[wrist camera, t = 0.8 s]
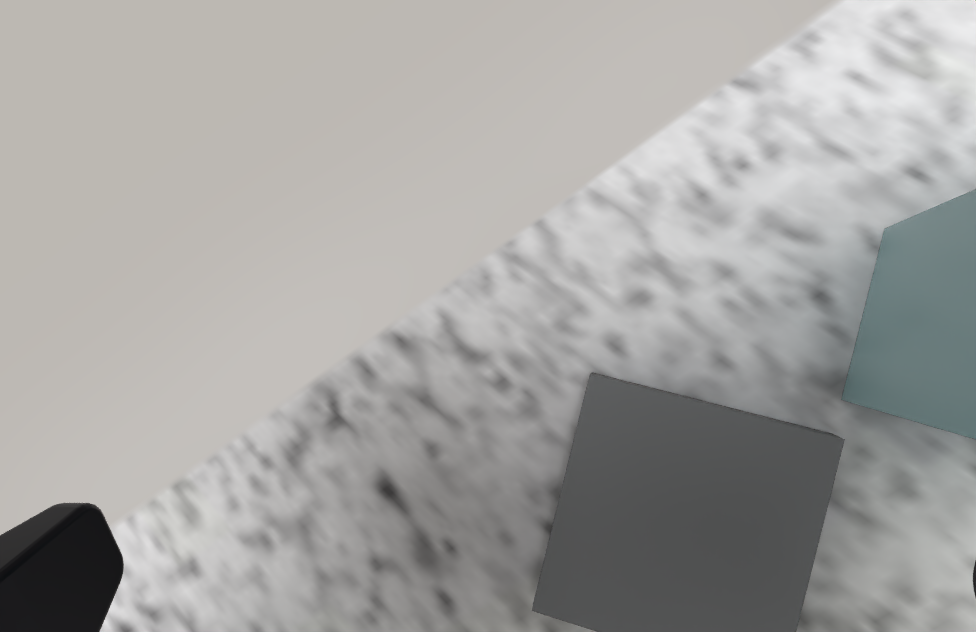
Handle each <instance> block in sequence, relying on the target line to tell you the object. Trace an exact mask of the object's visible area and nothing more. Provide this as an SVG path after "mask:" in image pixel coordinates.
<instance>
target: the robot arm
mask: <svg viewBox="0 0 976 632" xmlns="http://www.w3.org/2000/svg"><path fill="white" fill-rule="evenodd" d="M123 566H124V563H123V557H122V554H121V552H120V549H119V547H118V545H117V543H116V541H115V539H114V537H113V534H112V532H111V530H110V528H109V526H108V524H107V521H106V519H105V517H104V515H103V513H102V512H101V510H100V509H99V508H98V507H97V506H95V505H93V504H90V503H62V504H57V505H54V506H52V507H50V508H48V509H46V510H45V511H43V512H41V513H39V514H38V515H36V516H34V517H32V518H30V519H29V520H27V521H25V522H23V523H22V524H20V525H18V526H16V527H14V528H13V529H11V530H9V531H7V532H5V533H4V534H2V535H0V632H99V631H100V629H101V627H102V624H103V622H104V620H105V617H106V615H107V612H108V610H109V608H110V605H111V603H112V601H113V598H114V596H115V593H116V591H117V589H118V586H119V584H120V581H121V579H122V574H123ZM973 586H974V592H975V597H976V562H975V566H974V571H973Z"/></svg>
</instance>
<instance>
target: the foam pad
mask: <svg viewBox="0 0 976 632" xmlns="http://www.w3.org/2000/svg"><path fill="white" fill-rule="evenodd" d="M844 440H845V439H842V438H840V437H838V436H836V435H834V434H831V433H827V432H823V431H819V430H815V429H811V428H808V427H804V426H800V425H796V424H792V423H788V422H784V421H780V420H776V419H772V418H768V417H764V416H761V415H757V414H753V413H749V412H745V411H741V410H737V409H733V408H729V407H725V406H721V405H717V404H714V403H710V402H706V401H702V400H698V399H694V398H690V397H686V396H682V395H678V394H674V393H670V392H666V391H663V390H659V389H655V388H651V387H647V386H643V385H639V384H635V383H631V382H627V381H623V380H619V379H616V378H612V377H608V376H604V375H600V374H596V373H591V374H590V376H589V380H588V384H587V388H586V392H585V396H584V400H583V404H582V408H581V413H580V417H579V421H578V425H577V429H576V433H575V437H574V441H573V445H572V449H571V453H570V457H569V461H568V465H567V469H566V473H565V477H564V481H563V485H562V490H561V494H560V498H559V502H558V506H557V510H556V514H555V518H554V522H553V526H552V530H551V534H550V538H549V542H548V546H547V550H546V554H545V558H544V562H543V566H542V571H541V575H540V579H539V583H538V587H537V591H536V595H535V599H534V603H533V607H532V611H534V612H537V613H541V614H544V615H547V616H550V617H553V618H556V619H559V620H563V621H566V622H569V623H572V624H575V625H578V626H581V627H584V628H588V629H591V630H594V631H597V632H796V630H797V626H798V622H799V618H800V614H801V610H802V606H803V602H804V598H805V594H806V590H807V586H808V582H809V578H810V574H811V571H812V567H813V563H814V559H815V555H816V551H817V547H818V543H819V539H820V535H821V531H822V527H823V523H824V519H825V515H826V511H827V507H828V503H829V499H830V495H831V491H832V488H833V484H834V480H835V476H836V472H837V468H838V464H839V460H840V456H841V452H842V448H843V444H844Z"/></svg>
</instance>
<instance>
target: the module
mask: <svg viewBox="0 0 976 632" xmlns="http://www.w3.org/2000/svg"><path fill="white" fill-rule="evenodd" d="M842 400H844V401H847V402H850V403H854V404H857V405H861V406H864V407H867V408H871V409H874V410H878V411H881V412H884V413H888V414H891V415H895V416H898V417H901V418H905V419H908V420H912V421H915V422H918V423H922V424H925V425H929V426H932V427H935V428H939V429H942V430H946V431H949V432H952V433H956V434H959V435H963V436H966V437H969V438H973V439H976V189H975V190H973V191H971V192H968V193H966V194H964V195H961V196H959V197H957V198H954V199H952V200H950V201H948V202H945V203H943V204H941V205H938V206H936V207H934V208H931V209H929V210H927V211H924V212H922V213H920V214H918V215H915V216H913V217H911V218H908V219H906V220H904V221H901V222H899V223H897V224H895V225H892V226H890V227H888V228H885V229H884V233H883V237H882V241H881V245H880V249H879V253H878V257H877V261H876V265H875V269H874V273H873V277H872V281H871V285H870V289H869V293H868V297H867V301H866V305H865V308H864V312H863V316H862V320H861V324H860V328H859V332H858V336H857V340H856V344H855V348H854V352H853V356H852V360H851V364H850V368H849V372H848V376H847V380H846V384H845V388H844V392H843V396H842Z"/></svg>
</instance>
